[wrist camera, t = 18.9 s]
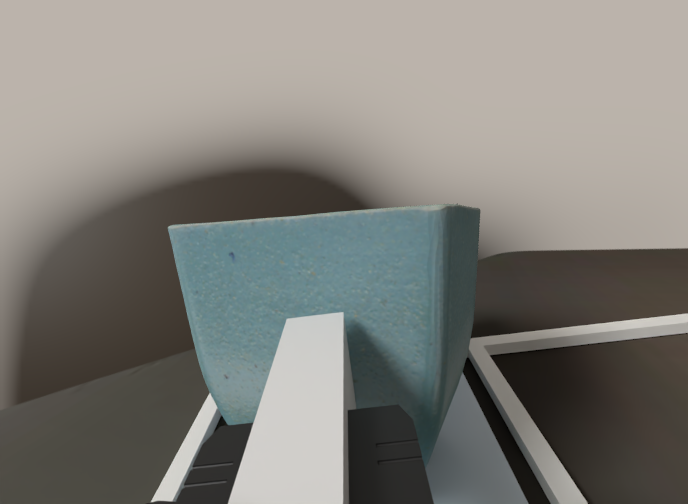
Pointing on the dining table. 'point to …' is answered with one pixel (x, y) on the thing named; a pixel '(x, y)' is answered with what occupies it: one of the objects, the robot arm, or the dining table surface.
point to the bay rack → (474, 423)
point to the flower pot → (336, 302)
